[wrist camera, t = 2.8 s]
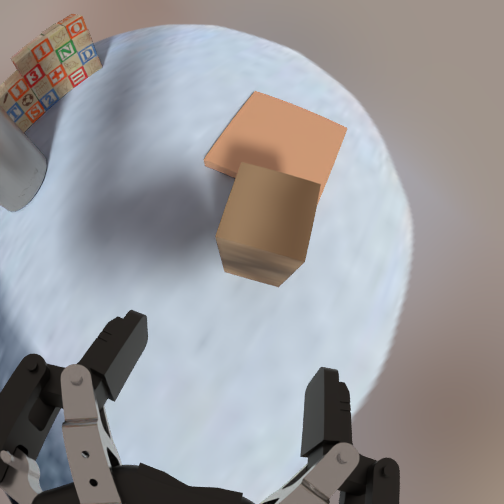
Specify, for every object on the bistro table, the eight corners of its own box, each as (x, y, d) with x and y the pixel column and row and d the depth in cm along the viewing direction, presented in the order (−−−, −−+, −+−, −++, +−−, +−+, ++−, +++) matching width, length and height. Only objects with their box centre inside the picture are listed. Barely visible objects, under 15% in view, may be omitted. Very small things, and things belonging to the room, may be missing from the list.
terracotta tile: (204, 165, 27) (203, 159, 26) (254, 97, 30) (255, 90, 29) (312, 213, 26) (315, 208, 25) (344, 134, 29) (347, 128, 28)
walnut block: (224, 271, 24) (215, 236, 15) (240, 221, 26) (241, 162, 16) (278, 287, 24) (304, 261, 15) (291, 236, 25) (320, 184, 16)
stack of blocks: (8, 151, 28) (-31, 110, 16) (4, 136, 29) (-30, 98, 17) (103, 67, 32) (82, 14, 20) (91, 59, 33) (71, 12, 21)
